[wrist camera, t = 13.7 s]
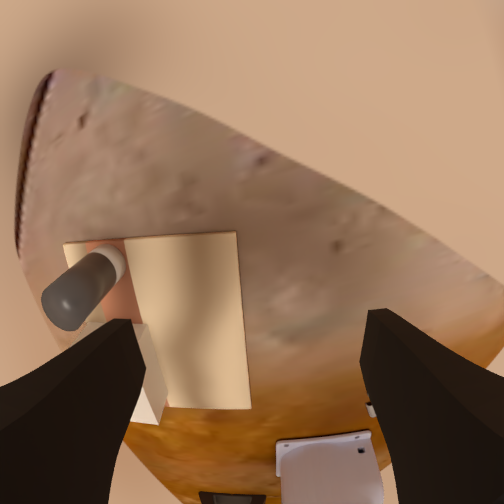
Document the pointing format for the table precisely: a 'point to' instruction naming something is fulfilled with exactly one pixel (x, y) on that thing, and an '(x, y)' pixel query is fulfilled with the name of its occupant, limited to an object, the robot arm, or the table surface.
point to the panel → (183, 312)
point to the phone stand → (230, 498)
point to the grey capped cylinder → (83, 287)
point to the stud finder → (153, 383)
